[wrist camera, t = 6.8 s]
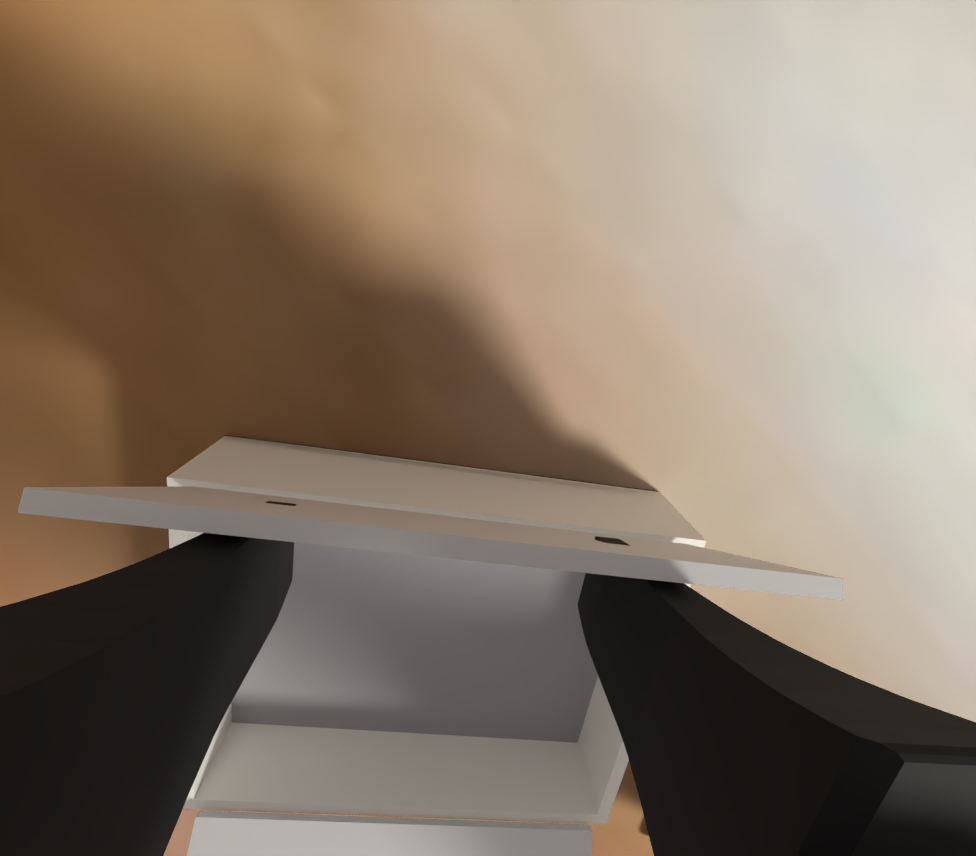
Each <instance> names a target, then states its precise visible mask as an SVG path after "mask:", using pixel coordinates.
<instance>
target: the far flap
mask: <svg viewBox="0 0 976 856" xmlns="http://www.w3.org/2000/svg"><path fill="white" fill-rule="evenodd" d="M591 855H592V829H591V828H590V826H589V825H580V824H553V823H525V822H497V821H469V820H442V819H414V818H386V817H358V816H331V815H303V814H275V813H248V812H220V811H200V812H199V814H198V815H197V816H196V818H195V823H194V827H193V831H192V836H191V840H190V845H189V849H188V853H187V856H591Z"/></svg>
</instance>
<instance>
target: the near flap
mask: <svg viewBox="0 0 976 856" xmlns="http://www.w3.org/2000/svg"><path fill="white" fill-rule="evenodd" d="M267 501H274V502H283V503H293V504H296V506H288V505H280V504H271V503H265V502H267ZM18 513H21V514H31V515H40V516H50V517H59V518H69V519H78V520H88V521H97V522H107V523H116V524H126V525H135V526H145V527H154V528H163V529H173V530H182V531H192V532H201V533H211V534H220V535H230V536H239V537H249V538H258V539H268V540H277V541H287V542H296V543H306V544H315V545H325V546H334V547H344V548H353V549H363V550H372V551H382V552H391V553H401V554H410V555H420V556H429V557H439V558H448V559H458V560H467V561H477V562H486V563H496V564H505V565H515V566H524V567H534V568H543V569H553V570H562V571H572V572H581V573H591V574H600V575H610V576H619V577H629V578H638V579H648V580H657V581H666V582H676V583H685V584H695V585H704V586H714V587H723V588H733V589H742V590H752V591H761V592H771V593H780V594H790V595H799V596H809V597H818V598H828V599H837V600H843V579H842V578H838V577H833V576H829V575H824V574H820V573H815V572H811V571H806V570H802V569H797V568H793V567H788V566H784V565H779V564H775V563H770V562H766V561H761V560H757V559H752V558H748V557H743V556H739V555H734V554H730V553H725V552H721V551H716V550H712V549H707V548H703V547H698V546H694V545H689V544H684V543H675V542H666V541H658V540H649V539H641V538H632V537H624V536H615V535H606V534H598V533H589V532H581V531H572V530H563V529H555V528H546V527H538V526H529V525H521V524H512V523H503V522H495V521H486V520H478V519H469V518H461V517H452V516H443V515H435V514H426V513H418V512H409V511H401V510H392V509H383V508H375V507H366V506H358V505H349V504H341V503H332V502H323V501H315V500H306V499H298V498H289V497H281V496H272V495H263V494H255V493H246V492H238V491H229V490H221V489H212V488H203V487H195V486H169V487H24V490H23V494H22V497H21V501H20V505H19V509H18ZM595 536H598V537H607V538H617V539H620V540H622V541H624V542H626V543H627V544H629V545H630V546H627V545H619V544H610V543H604V542H601V541H597V540H595Z"/></svg>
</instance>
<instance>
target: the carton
mask: <svg viewBox="0 0 976 856" xmlns="http://www.w3.org/2000/svg"><path fill="white" fill-rule="evenodd" d="M169 486H195V487H203V488H212V489H221V490H229V491H238V492H246V493H255V494H263V495H272V496H281V497H289V498H298V499H306V500H315V501H323V502H332V503H341V504H349V505H358V506H366V507H375V508H383V509H392V510H401V511H409V512H418V513H426V514H435V515H443V516H452V517H461V518H469V519H478V520H486V521H495V522H503V523H512V524H521V525H529V526H538V527H546V528H555V529H563V530H572V531H581V532H589V533H598V534H606V535H615V536H624V537H632V538H641V539H649V540H658V541H666V542H675V543H684V544H689V545H694V546H698V547H703V548H704V547H705V544H706V540H705V539H704V538H703V537H702V536H701V535H700V534H699V532H698V531H697V530H696V529H695V528H694V527H693V526H692V525H691V524H690V523H689V522H688V521H687V520H686V519H685V518H684V517H683V516H682V515H681V514H680V513H679V512H678V511H677V510H676V509H675V508H674V506H673V505H672V504H671V503H670V502H669V501H668V500H667V499H666V498H665V497H664V496H663V495H662V494H661V493H660V492H655V491H647V490H640V489H632V488H624V487H617V486H609V485H601V484H594V483H586V482H578V481H571V480H563V479H555V478H548V477H540V476H532V475H525V474H517V473H509V472H502V471H494V470H486V469H479V468H471V467H463V466H456V465H448V464H440V463H433V462H425V461H417V460H409V459H402V458H394V457H386V456H379V455H371V454H363V453H356V452H348V451H340V450H333V449H325V448H317V447H310V446H302V445H294V444H287V443H279V442H271V441H264V440H256V439H248V438H241V437H233V436H224V437H223V438H221V439H220V440H218V441H217V442H216V443H214V444H213V445H211V446H210V447H209V448H207V449H206V450H204V451H203V452H202V453H200V454H199V455H197V456H196V457H194V458H193V459H192V460H190V461H189V462H187V463H186V464H185V465H183V466H182V467H180V468H179V469H178V470H176V471H175V472H173V473H172V474H170V475H169V476H168V477H167V487H169ZM201 534H203V533H201V532H192V531H182V530H173V529H169V549H170V548H172V547H175V546H177V545H179V544H181V543H183V542H186V541H188V540H190V539H192V538H194V537H197V536H199V535H201ZM585 574H586V573H581V572H572V571H562V570H553V569H543V568H534V567H524V566H515V565H505V564H496V563H486V562H477V561H467V560H458V559H448V558H439V557H429V556H420V555H410V554H401V553H391V552H382V551H372V550H363V549H353V548H344V547H334V546H325V545H315V544H306V543H296V542H294V557H293V577H292V582H291V585H290V587H289V590H288V593H287V595H286V598H285V601H284V603H283V606H282V608H281V611H280V613H279V615H278V618H277V620H276V622H275V624H274V626H273V628H272V629H271V631H270V633H269V635H268V637H267V639H266V640H265V642H264V644H263V646H262V648H261V650H260V651H259V653H258V655H257V657H256V659H255V660H254V662H253V664H252V666H251V668H250V669H249V671H248V673H247V675H246V677H245V679H244V680H243V682H242V684H241V686H240V688H239V689H238V691H237V693H236V695H235V697H234V698H233V700H232V702H231V704H230V706H229V707H228V709H227V711H226V713H225V715H224V717H223V719H222V721H221V723H220V725H219V727H218V729H217V731H216V733H215V735H214V737H213V739H212V742H211V744H210V746H209V748H208V751H207V753H206V755H205V758H204V760H203V762H202V764H201V767H200V769H199V771H198V774H197V776H196V778H195V781H194V783H193V785H192V787H191V790H190V792H189V795H188V797H187V799H186V802H185V804H184V806H183V809H201V810H228V811H256V812H283V813H311V814H338V815H366V816H393V817H421V818H448V819H476V820H503V821H531V822H558V823H586V824H606V823H607V820H608V817H609V815H610V812H611V809H612V806H613V803H614V800H615V798H616V795H617V792H618V789H619V786H620V784H621V781H622V778H623V775H624V772H625V769H626V767H627V764H628V761H629V758H628V755H627V752H626V749H625V746H624V743H623V740H622V737H621V734H620V731H619V728H618V726H617V723H616V721H615V718H614V715H613V713H612V710H611V708H610V705H609V702H608V700H607V697H606V695H605V692H604V690H603V687H602V684H601V682H600V679H599V677H598V674H597V671H596V669H595V666H594V663H593V661H592V658H591V655H590V653H589V650H588V647H587V644H586V641H585V637H584V633H583V629H582V624H581V620H580V615H579V610H578V606H577V604H578V601H579V597H580V593H581V589H582V585H583V582H584V578H585ZM684 584H685V583H684ZM686 585H687V586H689V587H690V586H691V584H686Z"/></svg>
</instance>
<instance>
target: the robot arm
mask: <svg viewBox="0 0 976 856" xmlns="http://www.w3.org/2000/svg"><path fill="white" fill-rule="evenodd" d="M265 503H271V504H280V505H288V506H296V504H293V503H283V502H274V501H267V502H265ZM595 540H597V541H601V542H604V543H610V544H619V545H627V546H630V545H629V544H627V543H626V542H624V541H622V540H620V539H617V538H607V537H598V536H595ZM293 557H294V542H287V541H277V540H268V539H258V538H249V537H239V536H230V535H220V534H211V533H203V534H201V535H199V536H197V537H194V538H192V539H190V540H188V541H186V542H183V543H181V544H179V545H177V546H175V547H172V548H170V549H168V550H166V551H163V552H161V553H159V554H157V555H155V556H152V557H150V558H148V559H145V560H143V561H140V562H138V563H135V564H133V565H130V566H128V567H125V568H122V569H120V570H117V571H114V572H111V573H109V574H106V575H103V576H100V577H98V578H95V579H92V580H89V581H86V582H83V583H80V584H77V585H73V586H70V587H67V588H63V589H60V590H57V591H53V592H50V593H47V594H44V595H40V596H37V597H34V598H30V599H27V600H24V601H20V602H17V603H13V604H9V605H6V606H2V607H0V856H163V854H164V852H165V850H166V847H167V845H168V842H169V840H170V838H171V835H172V833H173V830H174V828H175V826H176V823H177V821H178V818H179V816H180V814H181V811H182V809H183V806H184V804H185V802H186V799H187V797H188V795H189V792H190V790H191V787H192V785H193V783H194V781H195V778H196V776H197V774H198V771H199V769H200V767H201V764H202V762H203V760H204V758H205V755H206V753H207V751H208V748H209V746H210V744H211V742H212V739H213V737H214V735H215V733H216V731H217V729H218V727H219V725H220V723H221V721H222V719H223V717H224V715H225V713H226V711H227V709H228V707H229V706H230V704H231V702H232V700H233V698H234V697H235V695H236V693H237V691H238V689H239V688H240V686H241V684H242V682H243V680H244V679H245V677H246V675H247V673H248V671H249V669H250V668H251V666H252V664H253V662H254V660H255V659H256V657H257V655H258V653H259V651H260V650H261V648H262V646H263V644H264V642H265V640H266V639H267V637H268V635H269V633H270V631H271V629H272V628H273V626H274V624H275V622H276V620H277V618H278V615H279V613H280V611H281V608H282V606H283V603H284V601H285V598H286V595H287V593H288V590H289V587H290V585H291V582H292V577H293ZM577 606H578V610H579V615H580V620H581V624H582V629H583V633H584V637H585V641H586V644H587V647H588V650H589V653H590V655H591V658H592V661H593V663H594V666H595V669H596V671H597V674H598V677H599V679H600V682H601V684H602V687H603V690H604V692H605V695H606V697H607V700H608V702H609V705H610V708H611V710H612V713H613V715H614V718H615V721H616V723H617V726H618V728H619V731H620V734H621V737H622V740H623V743H624V746H625V749H626V752H627V755H628V758H629V762H630V765H631V769H632V772H633V776H634V780H635V783H636V787H637V790H638V794H639V798H640V801H641V805H642V809H643V813H644V817H645V821H646V825H647V829H648V833H649V837H650V842H651V845H652V849H653V853H654V856H976V723H975V722H972V721H970V720H967V719H964V718H961V717H958V716H955V715H952V714H950V713H947V712H944V711H941V710H938V709H935V708H932V707H930V706H927V705H924V704H921V703H918V702H915V701H912V700H910V699H907V698H904V697H902V696H899V695H897V694H894V693H892V692H889V691H887V690H884V689H882V688H880V687H877V686H875V685H872V684H870V683H867V682H865V681H862V680H860V679H857V678H855V677H853V676H851V675H848V674H846V673H844V672H841V671H839V670H837V669H835V668H832V667H830V666H828V665H826V664H824V663H822V662H820V661H818V660H816V659H813V658H811V657H809V656H807V655H805V654H803V653H801V652H799V651H797V650H795V649H793V648H791V647H789V646H787V645H785V644H783V643H781V642H779V641H777V640H775V639H773V638H772V637H770V636H768V635H766V634H764V633H763V632H761V631H759V630H757V629H756V628H754V627H752V626H750V625H748V624H747V623H745V622H743V621H741V620H740V619H738V618H736V617H735V616H733V615H731V614H730V613H728V612H727V611H725V610H723V609H722V608H720V607H719V606H717V605H716V604H714V603H713V602H711V601H710V600H708V599H706V598H705V597H703V596H702V595H700V594H699V593H697V592H696V591H694V590H693V589H692V588H690V587H689V586H687V585H686V584H684V583H676V582H666V581H657V580H648V579H638V578H629V577H619V576H610V575H600V574H591V573H586V574H585V578H584V582H583V585H582V589H581V593H580V597H579V601H578V604H577Z"/></svg>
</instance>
